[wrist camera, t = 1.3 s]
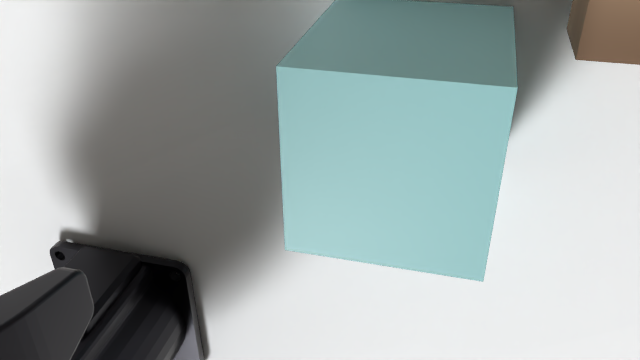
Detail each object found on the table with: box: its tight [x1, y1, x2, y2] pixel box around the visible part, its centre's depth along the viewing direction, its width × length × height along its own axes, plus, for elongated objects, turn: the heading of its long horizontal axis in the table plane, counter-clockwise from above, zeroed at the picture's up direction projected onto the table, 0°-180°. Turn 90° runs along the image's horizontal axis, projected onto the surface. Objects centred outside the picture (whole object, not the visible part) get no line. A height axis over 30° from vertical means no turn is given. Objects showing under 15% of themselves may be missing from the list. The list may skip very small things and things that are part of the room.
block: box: [276, 0, 518, 281], centre depth 16 cm, size 5×5×6 cm
